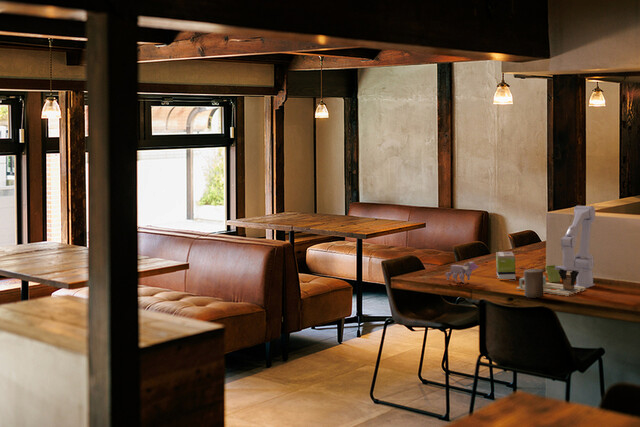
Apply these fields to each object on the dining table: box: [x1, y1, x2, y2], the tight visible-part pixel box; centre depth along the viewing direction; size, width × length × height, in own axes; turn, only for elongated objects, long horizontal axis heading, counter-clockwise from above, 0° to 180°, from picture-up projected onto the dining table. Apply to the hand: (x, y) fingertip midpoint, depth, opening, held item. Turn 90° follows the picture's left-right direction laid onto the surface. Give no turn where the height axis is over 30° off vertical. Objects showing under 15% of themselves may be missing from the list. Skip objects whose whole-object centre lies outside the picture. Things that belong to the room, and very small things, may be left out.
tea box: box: [495, 251, 517, 281], centre depth 467 cm, size 15×10×15 cm
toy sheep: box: [445, 261, 479, 283], centre depth 454 cm, size 20×11×14 cm, turn 49°
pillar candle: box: [523, 267, 544, 299], centre depth 417 cm, size 10×10×15 cm
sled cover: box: [518, 275, 547, 287], centre depth 435 cm, size 14×8×6 cm, turn 136°
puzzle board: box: [516, 282, 586, 297], centre depth 431 cm, size 20×30×2 cm, turn 46°
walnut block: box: [562, 277, 575, 290], centre depth 422 cm, size 4×4×5 cm
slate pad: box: [560, 288, 578, 292], centre depth 422 cm, size 7×7×1 cm
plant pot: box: [544, 264, 561, 283], centre depth 452 cm, size 9×9×9 cm
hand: (568, 284), depth 422 cm, fingers closed on walnut block, 4 cm apart
